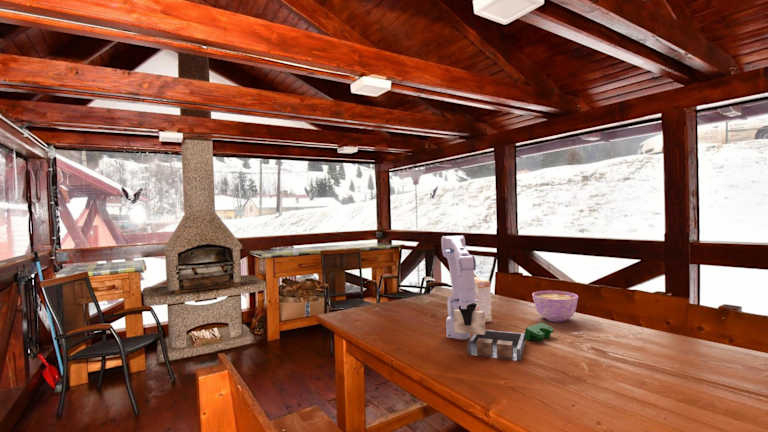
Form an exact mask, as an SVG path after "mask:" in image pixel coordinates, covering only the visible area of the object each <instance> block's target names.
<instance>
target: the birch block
mask: <svg viewBox="0 0 768 432" xmlns="http://www.w3.org/2000/svg"><path fill="white" fill-rule="evenodd" d="M454 330H455V332H460V333H470V335H472V334H473V335H474V334H481V335H484V334H485V330H486V322H485V311H473V313H472V321H471V326H468V325H465V324H464V320H463V316H462V314H461V312H460V310H459V309H455V310H454Z"/></svg>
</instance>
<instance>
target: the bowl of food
mask: <svg viewBox="0 0 768 432" xmlns="http://www.w3.org/2000/svg"><path fill="white" fill-rule="evenodd" d="M531 295H532V299H533V301H534V306H535V309H536V311H537V313H538V315H540V316H541V317H542V318H544V319H546V320H547V321H550V322H555V323H556V322H557V323H559V322H564V321H566V320H568V319H571V318H572V317H573V316H574V315H575V312H576V310H577V305H578V300H579V296H578V294H576V293H573V292H569V291H561V290H540V291H536V292H535V291H533V293H532V294H531Z"/></svg>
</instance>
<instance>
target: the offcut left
mask: <svg viewBox="0 0 768 432" xmlns="http://www.w3.org/2000/svg"><path fill="white" fill-rule="evenodd" d="M492 353H493V340H492V339H482V338H479V339H478V340H477V354H480V355H489V356H491V355H492Z"/></svg>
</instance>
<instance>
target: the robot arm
mask: <svg viewBox="0 0 768 432" xmlns="http://www.w3.org/2000/svg"><path fill="white" fill-rule="evenodd" d="M440 243H441V245H440V246H441V252H442V256H443V257H444V258H446V259H447V263H448V268H449V275H450V283H451V290H452V291H451V292H452V294H451V295H450V296H448V298H447V300H446V301H447V303H446V304H447V313H448V316H447V317H446V321H445V330H446V331H445V332H446V333H445V334H446V338H448V339H456V340H469V339H471V334H470V333H460V332H455V330H454V310H455V309H459V310H460V312H461V314H462V316H463V320H464V324H465V325H468V326H471V321H472V313H473V311H475V308H476V306H477V304H476V303H475V302H479V300H478V299H475V280H474V277H475V271H476V268H477V261H476V258H475V255H474V254H470V253H469V251H468V249H467V248H466V239H465V236H464V235H463V234H461V235H446V236H445V235H442V237H441V239H440Z"/></svg>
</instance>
